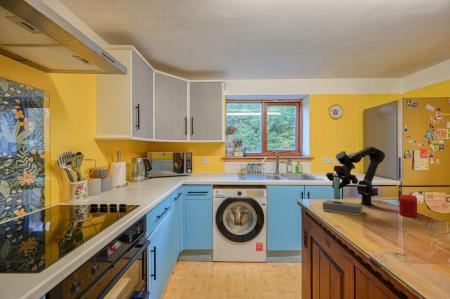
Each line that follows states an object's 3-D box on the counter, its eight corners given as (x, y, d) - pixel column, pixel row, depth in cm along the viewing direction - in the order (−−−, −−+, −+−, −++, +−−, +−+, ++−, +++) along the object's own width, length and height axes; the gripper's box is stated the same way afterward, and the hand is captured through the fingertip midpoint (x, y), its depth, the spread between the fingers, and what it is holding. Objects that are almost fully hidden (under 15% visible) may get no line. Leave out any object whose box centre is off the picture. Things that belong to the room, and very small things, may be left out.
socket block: (327, 206, 154) (327, 199, 154) (362, 211, 141) (362, 204, 141) (322, 209, 146) (322, 202, 146) (359, 215, 134) (359, 207, 133)
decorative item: (398, 209, 145) (398, 193, 145) (417, 212, 139) (417, 195, 139) (397, 215, 133) (396, 197, 133) (417, 218, 128) (417, 199, 128)
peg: (338, 198, 148) (338, 177, 148) (341, 199, 144) (341, 178, 144) (332, 198, 147) (332, 177, 147) (336, 199, 144) (335, 178, 144)
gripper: (327, 160, 156) (316, 178, 150) (355, 161, 140) (344, 181, 134) (334, 171, 160) (324, 189, 154) (362, 173, 144) (352, 193, 138)
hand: (335, 188), depth 145 cm, fingers closed on peg, 4 cm apart
